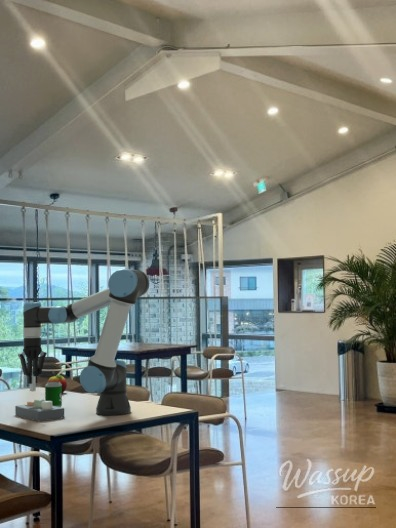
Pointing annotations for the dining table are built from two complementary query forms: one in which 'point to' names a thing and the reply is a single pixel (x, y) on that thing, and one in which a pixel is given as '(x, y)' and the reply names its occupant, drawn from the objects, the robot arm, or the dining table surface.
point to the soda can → (54, 393)
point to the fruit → (59, 379)
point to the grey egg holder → (39, 413)
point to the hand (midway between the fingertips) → (32, 391)
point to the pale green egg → (38, 403)
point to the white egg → (46, 405)
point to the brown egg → (30, 403)
